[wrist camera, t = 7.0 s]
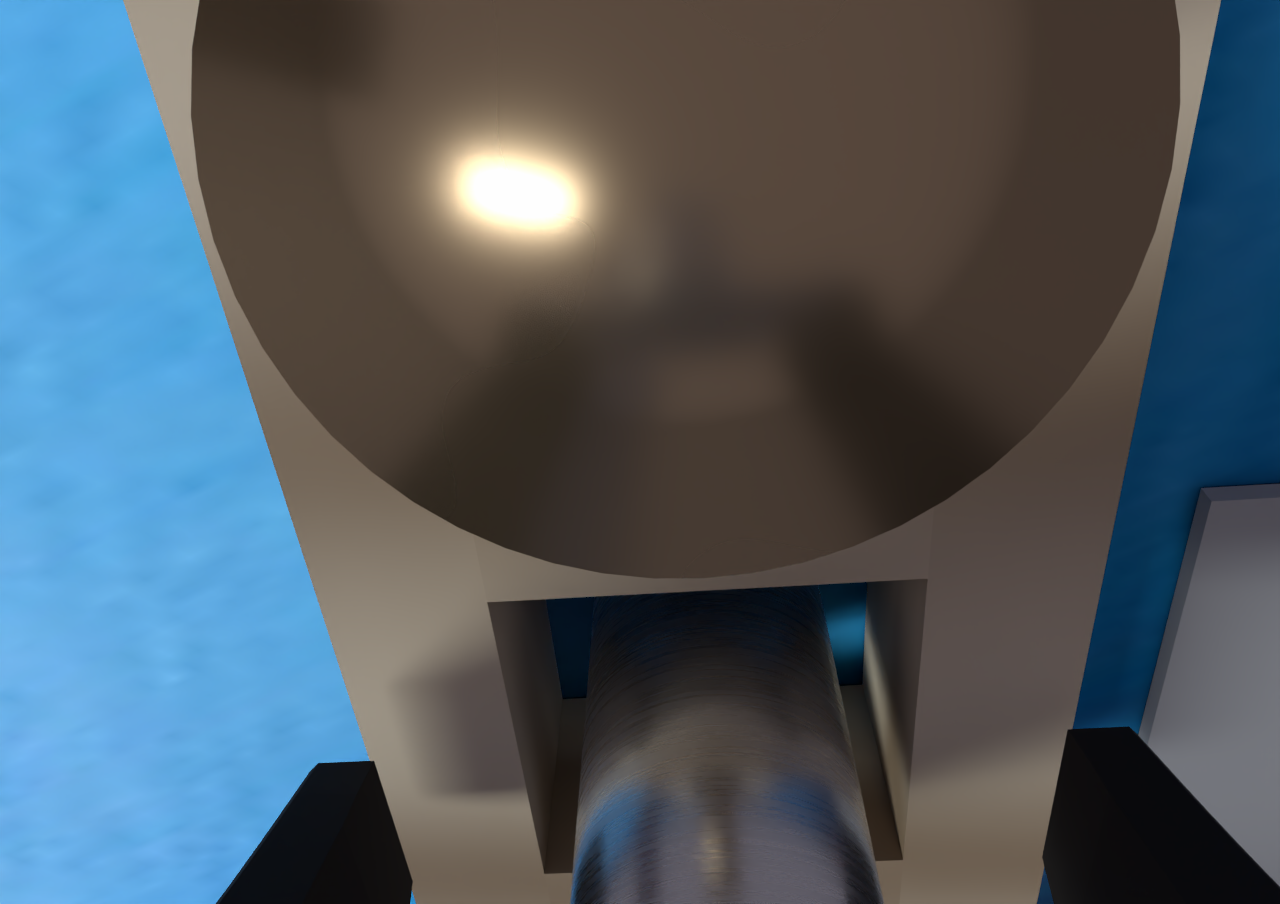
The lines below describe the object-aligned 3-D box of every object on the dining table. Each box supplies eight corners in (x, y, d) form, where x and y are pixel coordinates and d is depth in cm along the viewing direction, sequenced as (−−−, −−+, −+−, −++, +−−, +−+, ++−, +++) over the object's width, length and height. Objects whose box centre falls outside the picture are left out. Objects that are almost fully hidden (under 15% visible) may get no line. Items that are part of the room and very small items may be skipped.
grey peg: (817, 644, 15) (951, 1344, 8) (612, 662, 15) (577, 1356, 8) (808, 473, 13) (964, 1166, 7) (580, 495, 14) (504, 1187, 7)
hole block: (970, 760, 16) (1029, 938, 14) (468, 782, 17) (433, 958, 14) (1166, -716, 8) (1420, -972, 5) (120, -588, 8) (-125, -769, 6)
